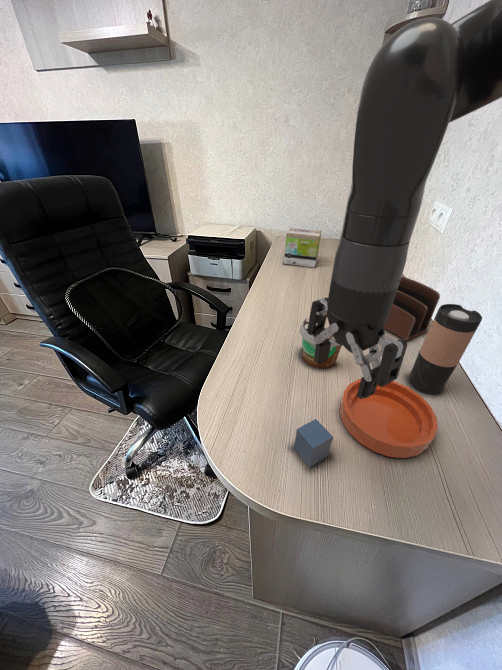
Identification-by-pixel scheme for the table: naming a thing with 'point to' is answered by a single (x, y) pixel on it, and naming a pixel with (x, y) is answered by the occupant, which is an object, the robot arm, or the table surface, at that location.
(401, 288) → the letter holder
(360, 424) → the bowl
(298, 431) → the block
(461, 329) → the travel mug
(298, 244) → the tea box
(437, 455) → the table surface
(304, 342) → the food container
